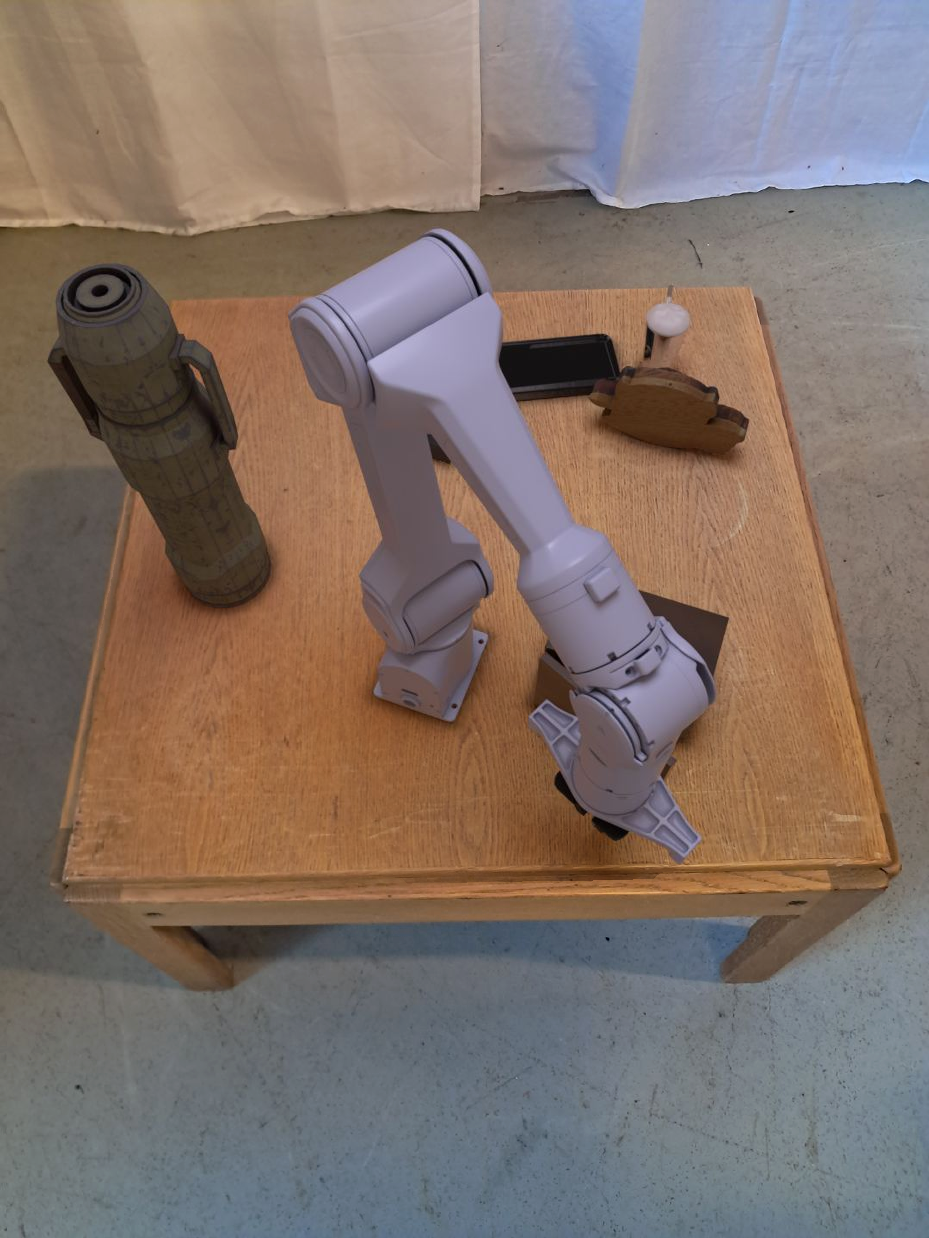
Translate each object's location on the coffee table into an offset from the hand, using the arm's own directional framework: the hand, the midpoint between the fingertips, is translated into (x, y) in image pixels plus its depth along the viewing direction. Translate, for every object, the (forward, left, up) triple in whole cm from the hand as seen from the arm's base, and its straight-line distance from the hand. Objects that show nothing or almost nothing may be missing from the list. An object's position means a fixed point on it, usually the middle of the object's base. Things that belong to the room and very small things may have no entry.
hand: (597, 813), depth 72 cm
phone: (+49, +20, -6) cm, 53 cm away
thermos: (+13, +41, -6) cm, 44 cm away
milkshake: (+53, +8, -6) cm, 54 cm away
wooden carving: (+44, +5, -6) cm, 44 cm away
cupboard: (+15, +1, -6) cm, 16 cm away
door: (+5, +3, -6) cm, 8 cm away
